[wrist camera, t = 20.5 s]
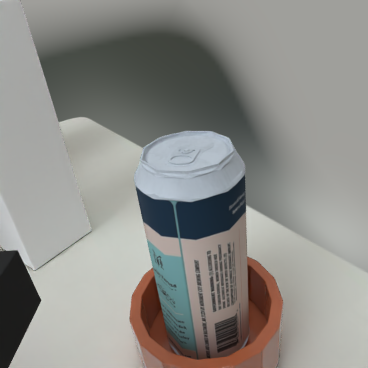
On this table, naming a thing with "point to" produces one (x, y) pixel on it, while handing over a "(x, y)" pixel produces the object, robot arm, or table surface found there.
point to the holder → (233, 364)
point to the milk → (32, 153)
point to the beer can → (197, 240)
